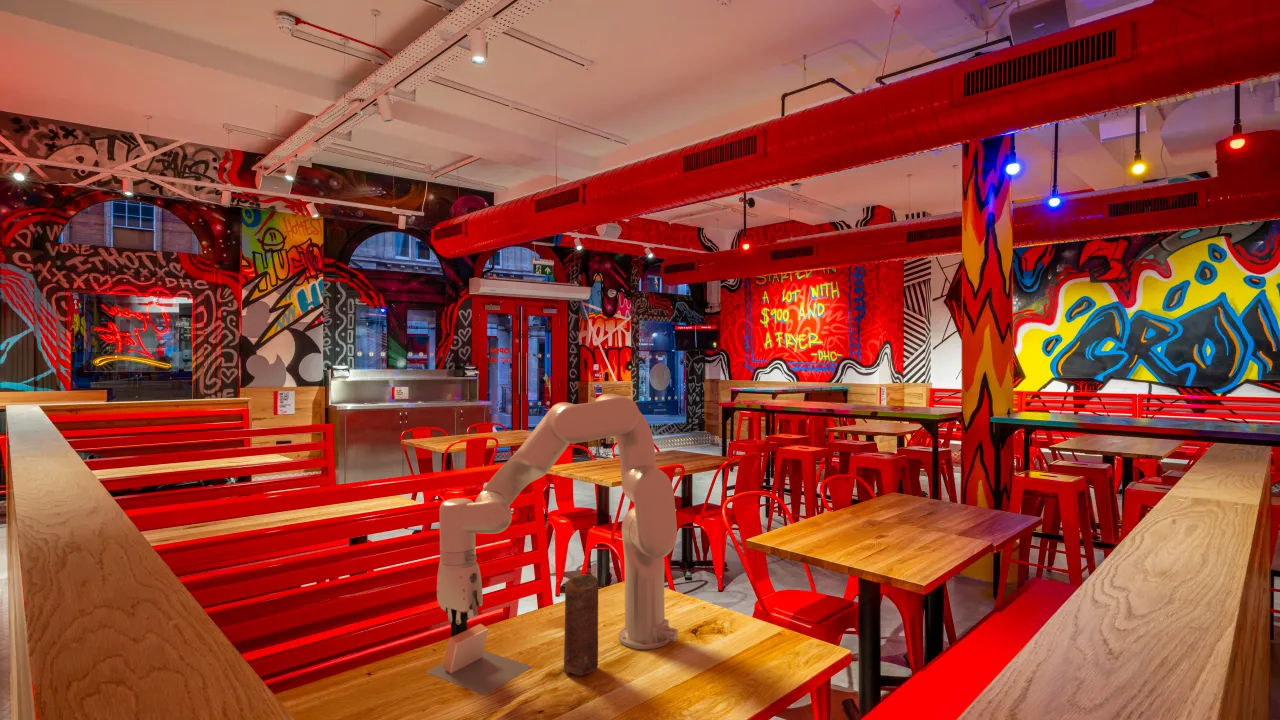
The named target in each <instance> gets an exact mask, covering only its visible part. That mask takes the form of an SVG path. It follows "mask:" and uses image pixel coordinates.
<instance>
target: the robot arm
mask: <svg viewBox="0 0 1280 720" xmlns="http://www.w3.org/2000/svg"><path fill="white" fill-rule="evenodd" d="M611 437H615V440H616V443H617V448H618V454H619V461H620V462H619V463H620V477H621V488H622V489H621V490H622V492H623V494H624V495H625V497H626V498H627V499H628V500H629V501H631V502H632V503H633V504H634V506H633V507H632V508H630V509H629V510H628V511H627V512H626V514H625V515H624V517H623V520H622V523H621V535H622V536H621V537H622V547H623V555H624V557H623V558H624V627H623V628H622V629H620V631H619V632H618V640H619V642H620V643H621V644H622V645H624V646H625V647H628V648H631V649H635V650H654V649H659V648H662V647H664V646H666V645H667V644H669V643H670V642H671V641H672V642H677V641H678V637H679V629H678V628H674V627H670V626H669V625H670V624H669V619H666V618H665V617H666V616H665V613H666V612H665V558H664V557H666V556H668V555H670V554H671V552H672V551H673V550H674V547H675V545H676V542H677V539H678V525H677V523H678V522H677V515H676V501H675V500H676V499H675V492H674V488H673V485H672V482H671V480H670V478H669V476H668V475H667V473H665V472H664V471H662V470H661V469H659V468H658V465H657V460H656V452H655V445H654V439H653V438H654V437H653V434H652V429H651V428H650V425H649V423H648V421H647V420H646V418H645V416H644V415H643V414H642V412H641V411H640V409H639V407H638V405H637V404H636V402H635V401H634V400H632V399H631V398H629V397H627V396H623V395H621V394H616V393H604V394H601V395H599V396H598V397H597V398H596V399H595V400H594V401H591V402H585V403H577V404H575V403H571V402H567V401H566V402H564V401H563V402H558V403H556V404H554V405H552V407H551V408H549V410H548V411H547V412H546V413H545V415H544V416H543V418H541V420H540V421H539V423H538V424H537V425H536V427H535V428H534V429H533V431H531V433H530V434H529V435H528V437H527V438H526V439H525V441H524V442H523V443H522V444H521V445H520V446H519V448H518V449H517V450H516V451H515V452H514V453H513V455H512V456H511V457H509V459H508V460H507V461H506V462H505V463H504V464H503V465H502V466H501V467H500V468H499V469H498V470H497V471H496V472H495V474H494V475H493V476H492V477H491V478H490V480H489V481H488V482H487V484H486V485H485V486H484V487H483V488H482V490H481V491H480V493H479V494H478V496H477V497H476V499H475V501H473V500H472V499H469V498H463V497H461V498H459V497H457V498H450V499H447V500H444V501H442V502H441V504H440V506H439V564H438V571H437V578H436V579H437V582H436V598H437V604H439V606H440V609H442V610H443V611H444V612H446V615H447V617H448V622H450V638H451V637H453V636H455V635H458V634H460V633H462V632H464V631H466V630H468V621H469V620H470V619H473V618H475V617H478V615H479V613H478V608H479V607H482V606H483V586H482V584H483V583H482V576H481V569H480V566H479V563H478V562H477V561H476V560H477V558H478V556H477V555H476V554H477V553H476V550H477V549H476V534H486V535H487V534H488V535H490V534H491V535H492V534H493V535H494V534H499V533H502V532H504V531H506V530H507V529H508V527H509V526H510V524H511V523H512V519H513V516H512V514H513V513H512V510H511V507H510V506H511V504H512V503H514V500H515V499H516V498H517V497H518V495H520V493H521V492H522V490H524V489H525V488H526V487H527V486H528V485H529V484H530V483H532V482H535V481H536V480H539V479H540V478H542V477H544V476H545V475H547V474H548V473H549V471H551V469H552V468H553V466H554V465H555V464H556V462H557V461H558V460H559V459H560V457H561V456H562V454H563V453H564V452H565V451H566V450H567V448H568V447H569V446H570V445H571V444H578V443H584V442H586V443H587V442H593V441H597V440H602V439H607V438H611Z"/></svg>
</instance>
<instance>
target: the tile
mask: <svg viewBox="0 0 1280 720" xmlns="http://www.w3.org/2000/svg"><path fill="white" fill-rule="evenodd" d="M488 631H489V628H487V627H486V626H485V625H484V624H482V623H479V624H476V625H475V626H473V627H471V628H467V630H466V631H464V632H462V633H460V634H458V635H455V636H453V637H451V636H450V637H449V639H448V642H447V648H446V652H445V657H444V661H443V663H444V666H443V668H445V669H446V670H447V671H448V672H450V673H453V672H455V671H457V670H459V669H461V668H462V667H464V666H466V665H468V664H470V663H472V662H474V661H476V660H477V659H479V658H481V657H482V656H483V651H485V645H486V642H487V638H488V637H487V636H488Z"/></svg>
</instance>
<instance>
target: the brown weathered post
mask: <svg viewBox="0 0 1280 720" xmlns="http://www.w3.org/2000/svg"><path fill="white" fill-rule="evenodd" d="M564 583H565V587H564V591H565V592H564V594H565V595H564V641H563V642H564V643H563V644H564V646H563V647H564V648H563V649H564V650H563V669H564V671H565V672H566V673H571V674H573V675H574V676H578V677H581V676H585V675H587V674H589V673H591V672H593V671H596V670H597V669H598V666H599V579H598V578H597V576H595V575H593V574H584V573H583V574H582V573H581V574H577V575H574V576H572V577H570V578H569V579H567V580H566V581H565V582H564Z"/></svg>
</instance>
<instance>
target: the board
mask: <svg viewBox="0 0 1280 720" xmlns="http://www.w3.org/2000/svg"><path fill="white" fill-rule="evenodd" d="M443 666H444V662H442V663H441V664H438V665H436V666H435V667H432V668H430V669H428V670H426V671H425V672H424V673H425V674H427V675H430V676H433V677H435V678H438V679H441V680H444V681H446V682H449V683H452V684H453V685H454V684H455V685H457V686H460V687H462V688H465V689H468V690H471V691H473V692H476V693H478V694H481V695H484V696H487V695H489V694H490V693H492V692H493V691H495V690H497V689H499V688H500V687H502V686H503V685H505V684H507V683H509V682H510V681H512V680H513V679H515V678H517V677H518V676H520V675H522V674H524V673H525V672H526V671H528V670H530V669H532V668H533V666H532V665H528V664H527V663H523V662H520V661H516V660H514V659H512V658H511V659H510V658H508V657H505V656H502V655H499V654H496V653H492V652H490V651H486V650H484V651H483V656H482V657H481V658H479V659H477V660H476V661H474V662H472V663H470V664H468V665H466V666H464V667H462V668H461V669H459V670H457V671H455V672H453V673H450V672H448V671H447V670H446V669H445V668H443Z"/></svg>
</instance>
